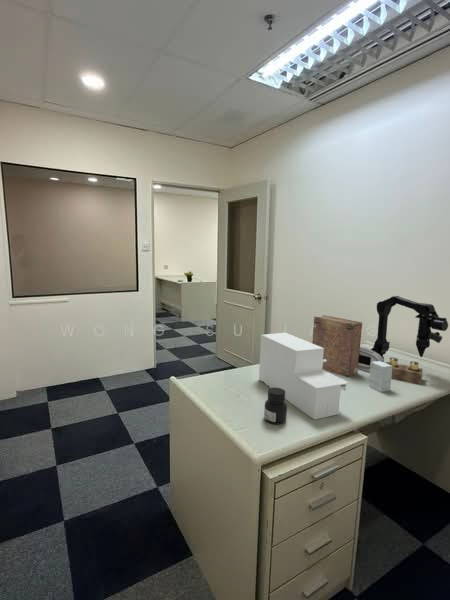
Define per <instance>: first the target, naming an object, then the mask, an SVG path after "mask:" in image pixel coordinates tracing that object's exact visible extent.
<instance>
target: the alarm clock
mask: <svg viewBox="0 0 450 600" xmlns="http://www.w3.org/2000/svg"><path fill="white" fill-rule="evenodd" d="M371 349H372V348H368V347H364V346H360V352H359V362H358V370H360V371H364V372H368V373H370V367H371V362H375V361H381V362H384V363H385V358H384V359H383V358H382V357H381V356H380V355H379V354H378V353H376V352H374V351H372V350H371Z"/></svg>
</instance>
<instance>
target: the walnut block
mask: <svg viewBox="0 0 450 600" xmlns="http://www.w3.org/2000/svg"><path fill="white" fill-rule="evenodd" d="M385 363H386V364H389V363H390V361H389V362H388V361H386V362H385ZM409 369H410V365H406V364H401V363H398V364H397V368H396V367H392V377H391V380H397V381H401V382H406V383H410V384H416V385H419V386H420V385H421V384H422V379H423V370H424V369H423V368H421V367H418V372H417V371H411V370H409Z"/></svg>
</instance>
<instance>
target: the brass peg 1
mask: <svg viewBox="0 0 450 600" xmlns="http://www.w3.org/2000/svg"><path fill="white" fill-rule="evenodd" d="M398 361H399V358H397V357H389V362H390V363H389V365H391V366H392V367H396V368H397V364H399V363H398Z"/></svg>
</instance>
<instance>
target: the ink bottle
mask: <svg viewBox="0 0 450 600" xmlns="http://www.w3.org/2000/svg"><path fill="white" fill-rule="evenodd" d="M285 400H286V399H285V391H284V390H283V389H281V388H270V387H269V388H268V390H267V399H266V401H265V402H264V411H263V413H264V414H263V418H264V420H265V421H266V422H267V423H268V424H271V425H282V424H285V423H286V422H287V417H288V416H287V414H288V413H287V412H288V404H287V403H286V402H285Z"/></svg>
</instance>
